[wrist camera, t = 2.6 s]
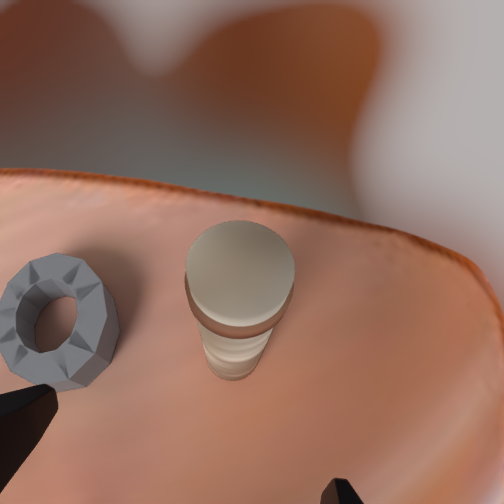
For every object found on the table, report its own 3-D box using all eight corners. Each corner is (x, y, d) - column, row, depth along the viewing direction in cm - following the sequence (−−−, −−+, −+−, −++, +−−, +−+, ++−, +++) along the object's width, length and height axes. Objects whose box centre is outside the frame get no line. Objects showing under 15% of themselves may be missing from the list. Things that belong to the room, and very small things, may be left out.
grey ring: (144, 330, 22) (133, 316, 19) (56, 416, 17) (36, 412, 15) (74, 252, 25) (61, 232, 22) (0, 324, 20) (-19, 310, 17)
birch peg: (271, 353, 22) (321, 260, 11) (235, 394, 20) (248, 346, 9) (229, 319, 23) (235, 200, 12) (193, 357, 21) (157, 267, 10)
